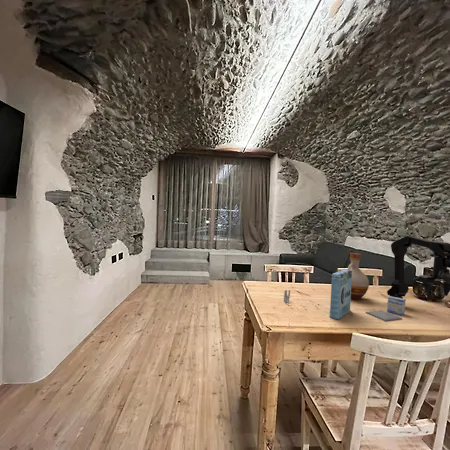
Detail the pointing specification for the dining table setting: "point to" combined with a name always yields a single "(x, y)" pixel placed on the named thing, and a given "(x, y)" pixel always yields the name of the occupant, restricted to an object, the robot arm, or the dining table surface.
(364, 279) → the jug
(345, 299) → the gum box
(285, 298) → the architectural model
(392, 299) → the medicine box
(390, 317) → the slate board
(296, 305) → the dining table surface
